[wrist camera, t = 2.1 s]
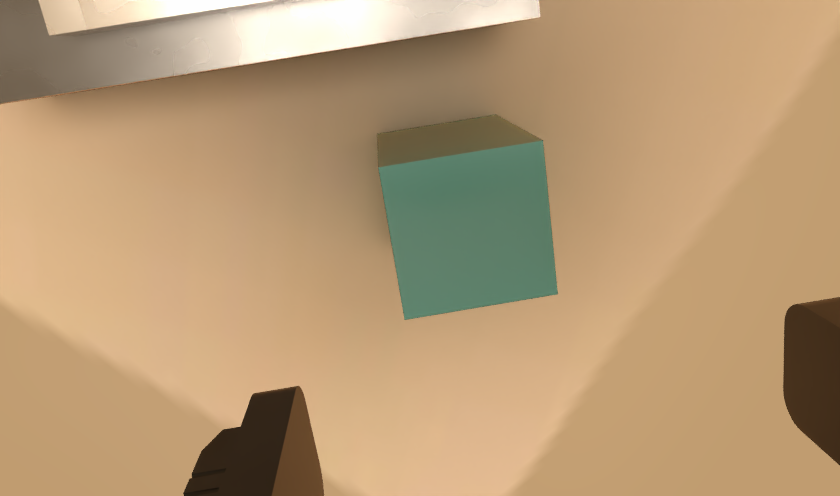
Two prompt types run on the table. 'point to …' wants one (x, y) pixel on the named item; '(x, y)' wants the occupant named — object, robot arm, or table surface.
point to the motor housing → (206, 35)
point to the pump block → (467, 215)
